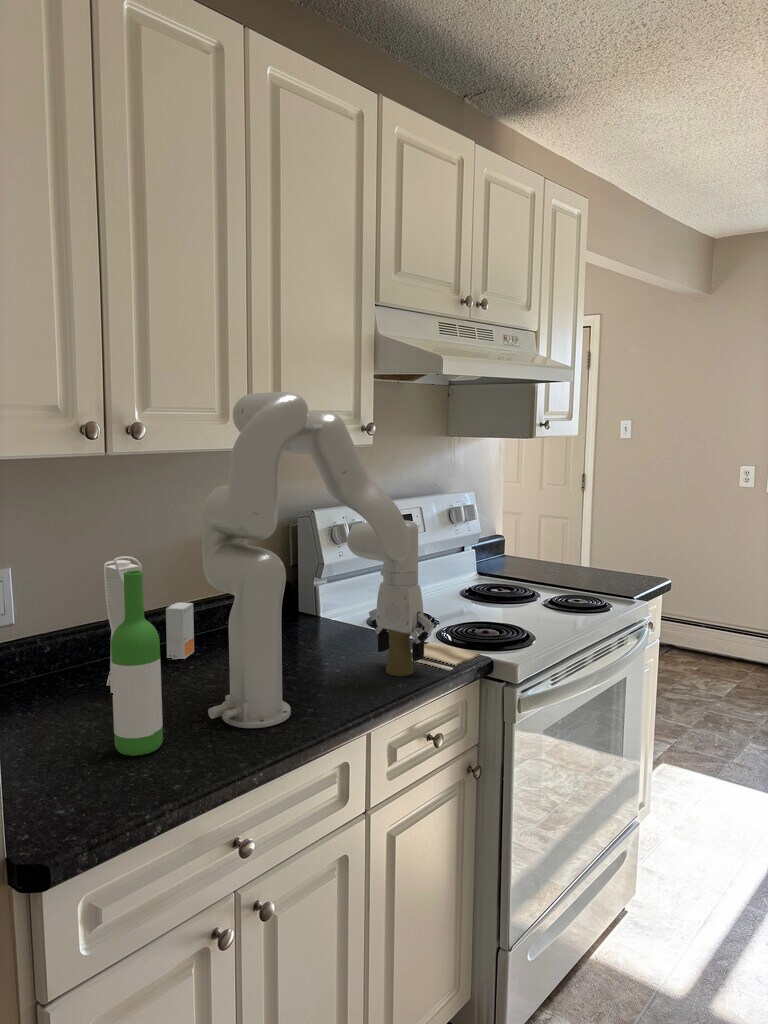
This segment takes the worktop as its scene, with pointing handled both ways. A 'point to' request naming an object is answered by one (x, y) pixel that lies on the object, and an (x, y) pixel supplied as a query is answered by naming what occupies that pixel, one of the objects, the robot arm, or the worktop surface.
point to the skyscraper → (116, 592)
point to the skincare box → (180, 630)
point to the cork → (399, 654)
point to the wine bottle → (136, 676)
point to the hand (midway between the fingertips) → (400, 654)
